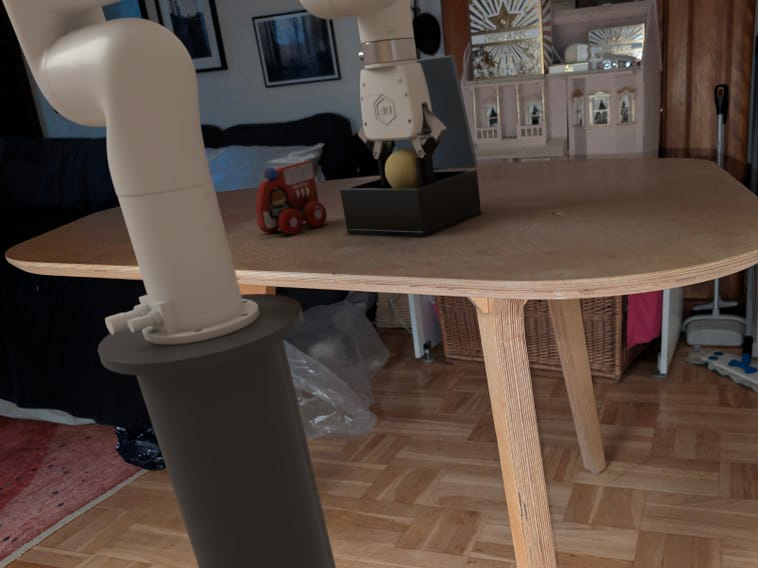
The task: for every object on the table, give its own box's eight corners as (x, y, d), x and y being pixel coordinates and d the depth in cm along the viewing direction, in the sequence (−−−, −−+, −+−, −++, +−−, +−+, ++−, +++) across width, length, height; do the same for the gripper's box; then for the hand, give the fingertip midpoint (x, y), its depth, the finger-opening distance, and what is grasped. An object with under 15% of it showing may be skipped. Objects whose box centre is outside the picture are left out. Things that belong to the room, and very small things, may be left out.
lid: (451, 56, 100) (469, 47, 103) (373, 66, 108) (392, 57, 111) (475, 167, 109) (491, 156, 112) (401, 169, 116) (418, 158, 120)
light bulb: (427, 219, 104) (418, 150, 101) (386, 222, 106) (376, 153, 102) (437, 210, 110) (429, 144, 106) (398, 213, 112) (389, 148, 108)
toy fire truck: (250, 238, 113) (234, 172, 109) (308, 220, 122) (296, 159, 118) (277, 240, 109) (262, 172, 105) (336, 222, 118) (324, 158, 114)
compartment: (423, 237, 100) (416, 189, 97) (347, 234, 108) (339, 189, 105) (481, 213, 112) (476, 169, 109) (409, 212, 119) (403, 171, 117)
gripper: (327, 63, 101) (349, 189, 108) (422, 50, 92) (439, 188, 99) (361, 60, 107) (380, 180, 114) (454, 47, 97) (469, 178, 104)
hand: (407, 182), depth 106 cm, fingers closed on light bulb, 6 cm apart
